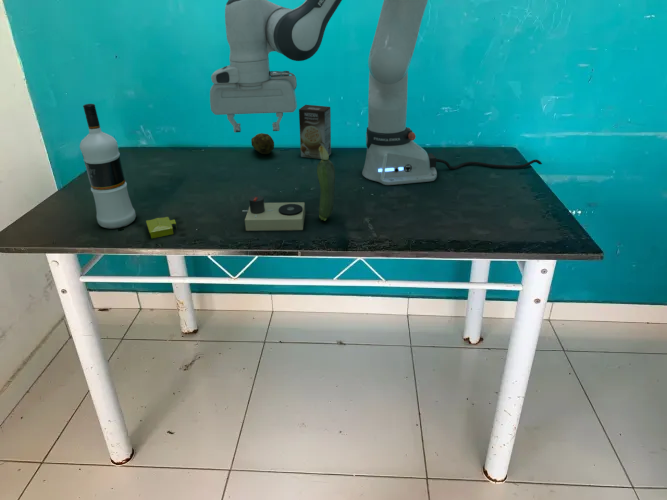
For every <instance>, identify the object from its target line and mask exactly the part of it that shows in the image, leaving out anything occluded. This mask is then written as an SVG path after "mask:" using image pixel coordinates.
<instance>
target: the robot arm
mask: <svg viewBox="0 0 667 500" xmlns="http://www.w3.org/2000/svg"><path fill="white" fill-rule="evenodd" d="M342 1H343V0H305V1H304V2H303V3H301V4H300V5H299V6H297V7H295V8H293V9H292V8H289V7H284V6H282V5H278V4H276V3H274V2H272V1H269V0H227V2H226V4H225V8H224V23H225V25H224V26H225V35H226V41H227V43H228V46H229V65H226V66H223V67H221V68H218V69H216V70H215V71H214V72H213V73H212V74H211V76H210V78H211V82H212V83H213V84H212V85H211V87H210V89H209V104H210V110H211V112H212V113H213V114H214V115H215V116H220V115H226V116H227V117H226V118H227V121H229V123H230V124H231V125H232V126H233V127H232V128H233V132H234V133H241V132H242V125H241V123H237V121H236V120H235V116H236V115H248V114H249V115H251V114H275V115H276V118H277V120H276V121H275V122H274V121H273V122H272V131H273V132H280V130H281V127H280V123H281V121H282V118H283V116H284V113H294V112H295V111H296V109H297V107H298V102H297V95H296V89H297V86H298V85H297V77H296V75H295V74H294V73H293V72H291V71H289V70H283V71H281V70H274V71H273V70H271V68H270V58H269V57H270V56H269V55H270V53H271V52H275V53H278V54H281V55H283V56H284V57H286V58H287V59H289V60H291V61H293V62H294V61H295V62H304V61H307V60H309V59H311V58H312V57H313V56H314V55H315V54H317V52H318V50H319V48H320V47H321V45H322V42H323V38H324V35H325V31H326V28H327V26H328V23H329V22H330V20H331V19H332V17H333V15H334V14H335V12H336V10H337V9H338V8H339V6H340V5H341V3H342ZM428 1H429V0H383V2H382V6H381V9H380V13H379V17H378V21H377V25H376V29H375V33H374V36H373V40H372V44H371V46H370V49H369V54H368V58H367V59H368V60H367V63H368V64H367V66H368V70H369V71H368V99H367V102H368V105H367V127H366V131H365V145H366V153H365V154H366V155H365V161H364V166H363V169H362V172H361V174H362V176H363V177H364V178H366V179H367V180H370V181H374V182H378V183H380V184H381V185H384V186H394V185H404V184H417V183H426V182H427V183H428V182H434V181H435V180H436V179H437V177H438V172H437V169H436V166H437V163H440V164H441V163H442V164H444V165H445V166H446V167H447V169H449V170H458V169H461V168H463V167H465V166H469V165H471V166H472V165H473V166H483V167H487V168H497V169H498V168H499V169H522V168H526V167H529V166H530V165H532V164H535V163H536V164H538V165H543V163H542V161H541V160H539V159H532V160H530V161H528V162H527V163H524V164H514V165H513V164H512V165H508V164H493V163H488V162H480V161H466V162H461V163H460V164H458V165H457V166H452V165H451V164H450V163H449V162H448V161H446V160H444V159H441V158H437V157H436V156H435V155H434V154H433V153H432V152H431V153H429V152H427V151H426V150H425V149H424V148H423V147H422V146H421V145H419V144H418V143H416V142H415V139H416V133H415V132H413V130H412V129H411V127H407V113H408V111H407V109H408V83H409V81H408V79H409V77H408V76H409V69H410V65H411V62H412V59H413V55H414V52H415V48H416V44H417V41H418V37H419V33H420V29H421V25H422V21H423V18H424V16H425V15H424V14H425V11H426V8H427V4H428Z"/></svg>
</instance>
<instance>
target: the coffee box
mask: <svg viewBox="0 0 667 500" xmlns="http://www.w3.org/2000/svg"><path fill="white" fill-rule="evenodd" d="M331 115H332V113H331V106H327V105H325V106H324V105H313V104H304V105H303V106H301V107H300V108H299V109H298V120H299V121H298V122H299V144H300V146H299V147H300V157H301V158H309V159H318V160H322V159H321V157H320V151H319V147H320V146H321V145H322V146H323V147H324V149H326V151H327V152H328V156H331V155H332V127H331V126H332V125H331V124H332V123H331V118H332V117H331Z"/></svg>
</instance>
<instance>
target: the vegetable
mask: <svg viewBox="0 0 667 500" xmlns="http://www.w3.org/2000/svg"><path fill="white" fill-rule="evenodd" d="M319 151H320V157H321V159H320V161H319V162H318V163H317V165H316V175H317V180H318V182H319V188H320V189H319V190H320V191H319V193H320V196H319V205H318V214H319V215H318V219H320V221H324V222H327V220H328V218H330V217H331V215H332V214H333V210H334V203H335V188H336V187H335V184H336V169H335V166H334V163H333V161H331V160H330V159H329V158H330V157H329V156H330V155H329V156H328V152H327V151H326V149H324V147H323V146H322V145H321V146H320V147H319Z"/></svg>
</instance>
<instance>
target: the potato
mask: <svg viewBox="0 0 667 500" xmlns="http://www.w3.org/2000/svg"><path fill="white" fill-rule="evenodd" d="M250 143H251V146H252V147H253V149H254V150H255V151H256V152H258V153H260V154H262V155H269V154H270V153H272V152H273V151H274V149H275V141H274V139H273V138H272V136H271V135H270V134H268V133H263V132H261V133H257V134H255V136H253V137H251V142H250Z"/></svg>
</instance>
